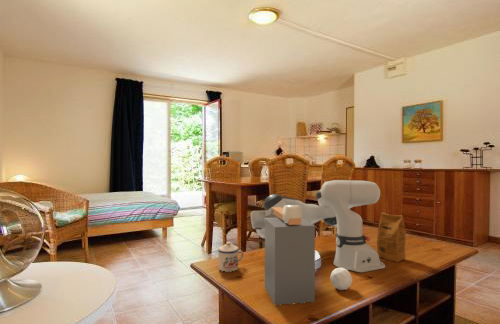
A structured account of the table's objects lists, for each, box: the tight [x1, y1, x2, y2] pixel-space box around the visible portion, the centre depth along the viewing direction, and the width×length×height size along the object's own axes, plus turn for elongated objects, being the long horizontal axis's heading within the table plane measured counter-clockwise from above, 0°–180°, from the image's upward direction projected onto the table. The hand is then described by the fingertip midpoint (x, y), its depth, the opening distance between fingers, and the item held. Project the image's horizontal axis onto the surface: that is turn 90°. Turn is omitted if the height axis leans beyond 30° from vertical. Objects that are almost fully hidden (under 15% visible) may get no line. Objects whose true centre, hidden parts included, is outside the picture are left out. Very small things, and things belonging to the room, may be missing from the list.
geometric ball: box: [329, 267, 353, 291], centre depth 108 cm, size 8×8×8 cm
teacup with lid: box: [217, 241, 245, 273], centre depth 129 cm, size 12×9×12 cm
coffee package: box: [376, 212, 407, 263], centre depth 142 cm, size 10×12×22 cm
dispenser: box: [264, 218, 316, 306], centre depth 104 cm, size 14×15×26 cm
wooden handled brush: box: [271, 205, 302, 225], centre depth 108 cm, size 5×24×6 cm, turn 10°
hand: (278, 210), depth 116 cm, fingers closed on wooden handled brush, 4 cm apart
